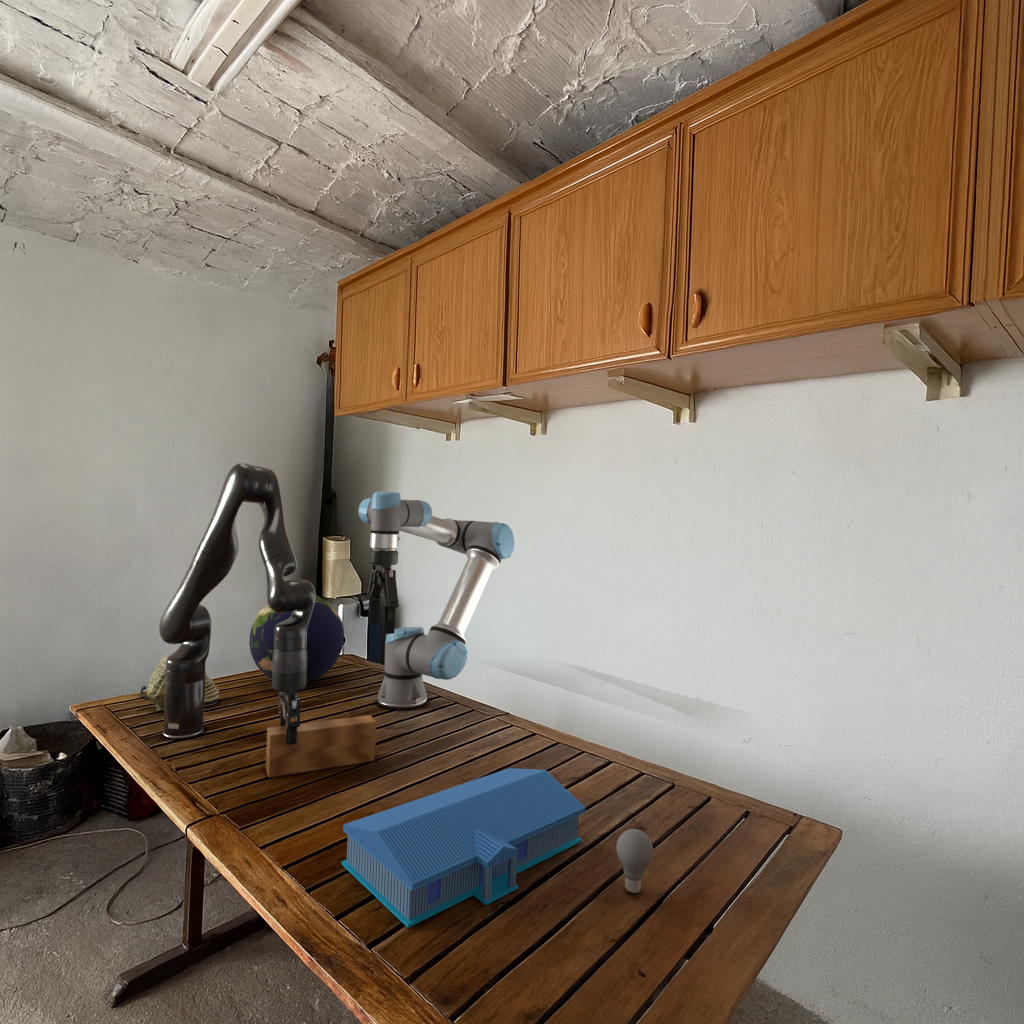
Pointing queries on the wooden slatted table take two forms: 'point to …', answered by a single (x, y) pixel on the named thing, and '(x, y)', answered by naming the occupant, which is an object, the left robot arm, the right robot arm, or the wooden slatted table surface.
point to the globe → (320, 640)
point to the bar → (321, 745)
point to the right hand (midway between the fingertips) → (381, 628)
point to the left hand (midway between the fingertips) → (287, 737)
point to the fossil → (158, 687)
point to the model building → (462, 842)
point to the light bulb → (634, 857)
